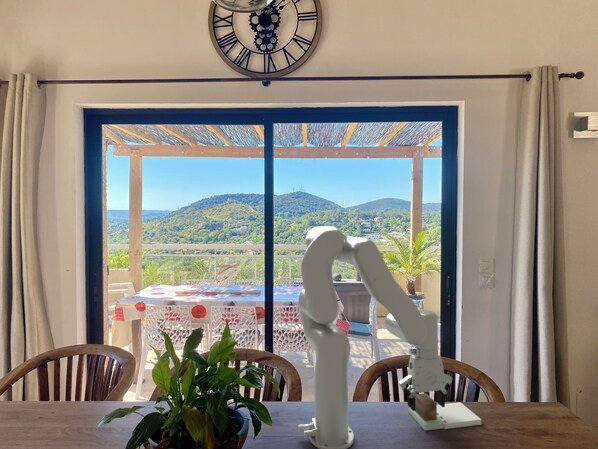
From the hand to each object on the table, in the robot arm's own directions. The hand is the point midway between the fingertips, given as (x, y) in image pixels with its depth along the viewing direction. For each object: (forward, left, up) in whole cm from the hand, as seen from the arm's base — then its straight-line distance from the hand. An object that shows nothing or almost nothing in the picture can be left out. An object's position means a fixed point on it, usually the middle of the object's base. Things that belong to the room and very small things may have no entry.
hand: (426, 406), depth 105 cm
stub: (0, 0, -4) cm, 4 cm away
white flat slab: (+9, 0, -4) cm, 10 cm away
